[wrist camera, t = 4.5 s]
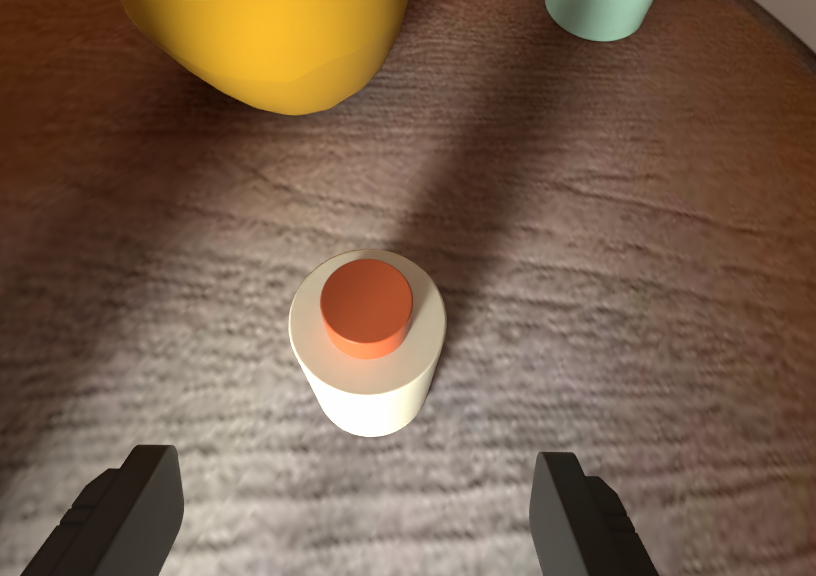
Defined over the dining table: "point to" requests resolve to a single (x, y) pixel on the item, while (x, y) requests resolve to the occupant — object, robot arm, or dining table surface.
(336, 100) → the apple
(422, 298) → the cream bottle
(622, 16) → the celadon jar
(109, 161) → the dining table surface
